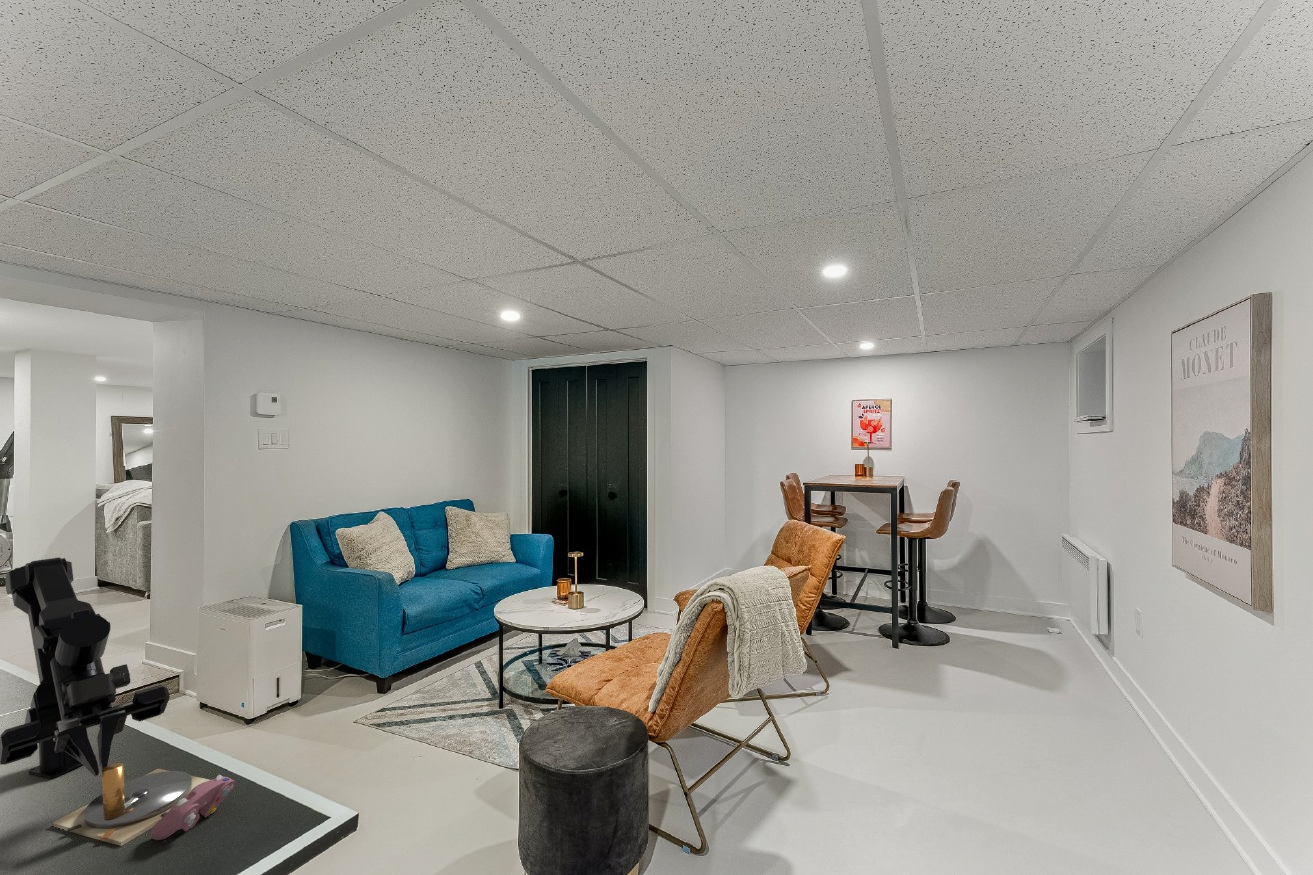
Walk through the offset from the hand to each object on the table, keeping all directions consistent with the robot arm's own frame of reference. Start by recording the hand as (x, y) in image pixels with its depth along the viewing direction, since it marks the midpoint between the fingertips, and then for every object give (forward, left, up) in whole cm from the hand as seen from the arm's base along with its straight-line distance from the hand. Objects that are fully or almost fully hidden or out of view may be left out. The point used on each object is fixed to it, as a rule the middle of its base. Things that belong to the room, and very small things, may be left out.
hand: (100, 773), depth 89 cm
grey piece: (0, +5, -8) cm, 10 cm away
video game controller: (+12, +5, -9) cm, 16 cm away
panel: (0, +5, -8) cm, 10 cm away
